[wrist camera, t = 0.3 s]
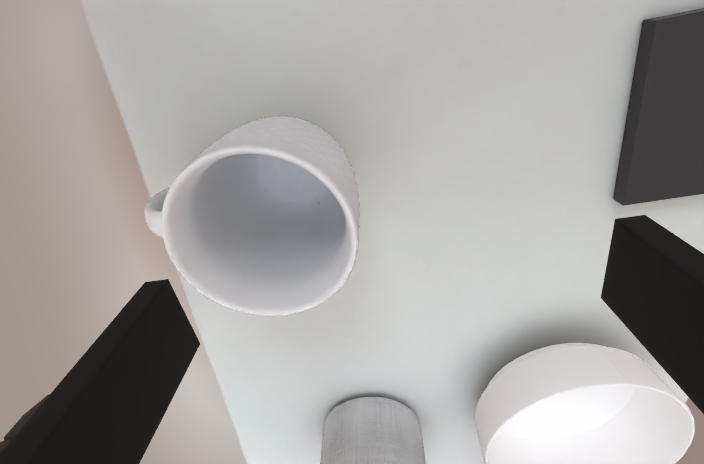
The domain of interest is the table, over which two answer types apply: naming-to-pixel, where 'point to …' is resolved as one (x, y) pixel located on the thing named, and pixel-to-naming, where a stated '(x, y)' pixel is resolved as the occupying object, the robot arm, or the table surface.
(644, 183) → the scale
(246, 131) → the mug
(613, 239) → the robot arm
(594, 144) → the table surface
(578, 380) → the bowl
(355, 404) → the planter
